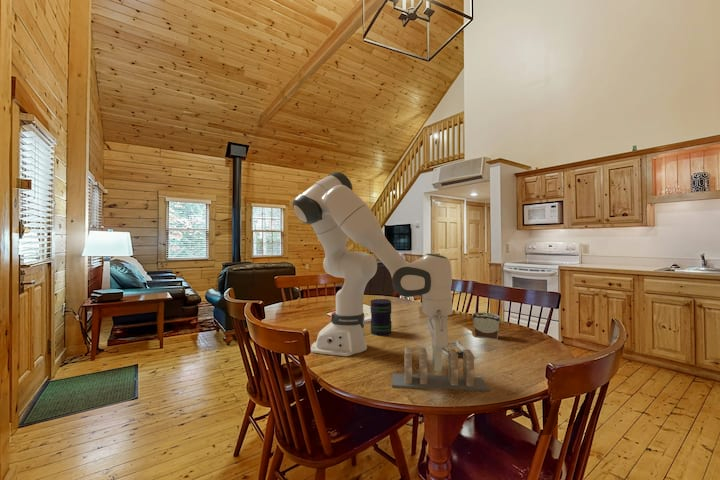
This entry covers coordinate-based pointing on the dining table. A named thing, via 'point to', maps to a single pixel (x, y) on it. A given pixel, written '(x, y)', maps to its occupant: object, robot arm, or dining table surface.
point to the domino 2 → (423, 366)
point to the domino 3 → (453, 366)
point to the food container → (486, 325)
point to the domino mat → (438, 383)
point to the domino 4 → (468, 367)
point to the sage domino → (436, 361)
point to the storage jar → (381, 317)
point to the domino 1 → (408, 365)
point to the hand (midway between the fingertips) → (437, 352)
